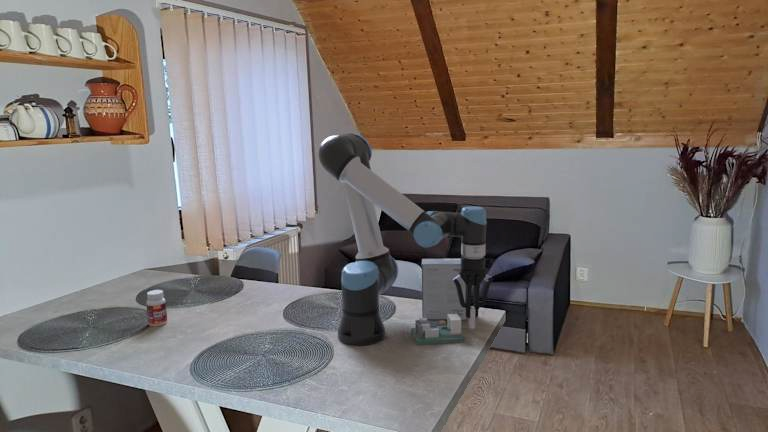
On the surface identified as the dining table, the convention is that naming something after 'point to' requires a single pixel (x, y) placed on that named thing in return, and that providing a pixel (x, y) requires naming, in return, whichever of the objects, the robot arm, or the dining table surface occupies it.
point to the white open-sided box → (454, 323)
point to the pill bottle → (156, 308)
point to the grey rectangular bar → (433, 323)
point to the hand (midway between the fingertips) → (471, 327)
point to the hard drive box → (441, 289)
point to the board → (437, 339)
